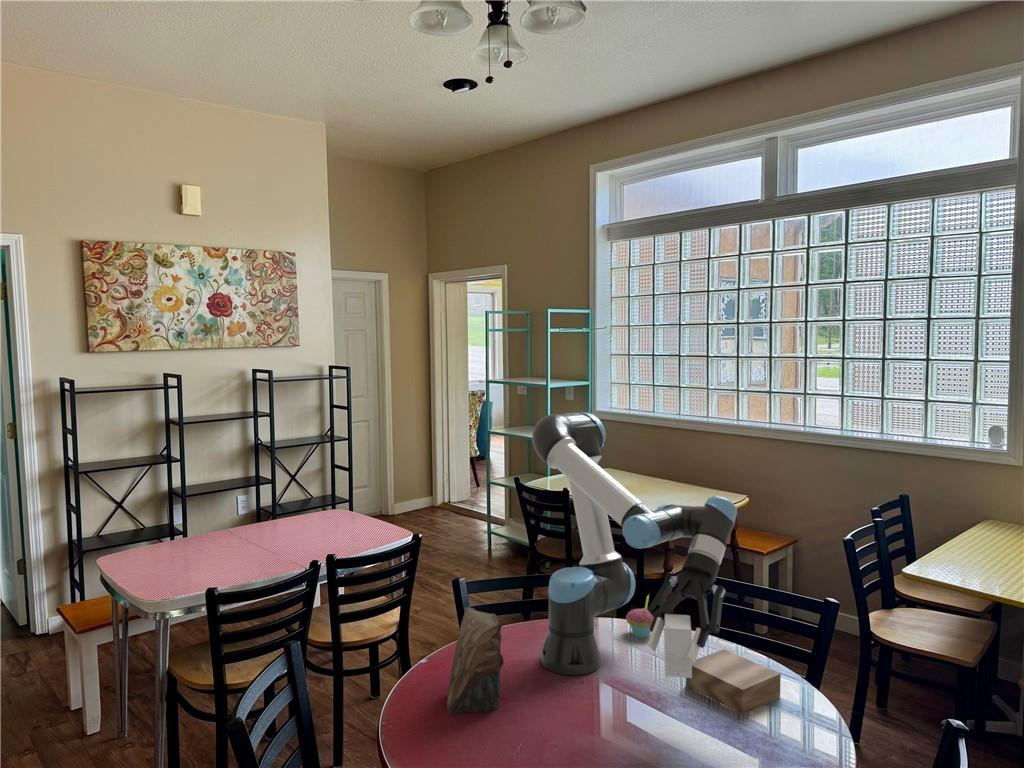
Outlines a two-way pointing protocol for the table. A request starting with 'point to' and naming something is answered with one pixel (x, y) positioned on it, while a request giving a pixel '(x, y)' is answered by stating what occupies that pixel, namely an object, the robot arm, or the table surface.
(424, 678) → the table surface
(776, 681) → the walnut block
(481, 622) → the owl
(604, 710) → the table surface
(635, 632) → the cupcake
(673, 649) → the small box
